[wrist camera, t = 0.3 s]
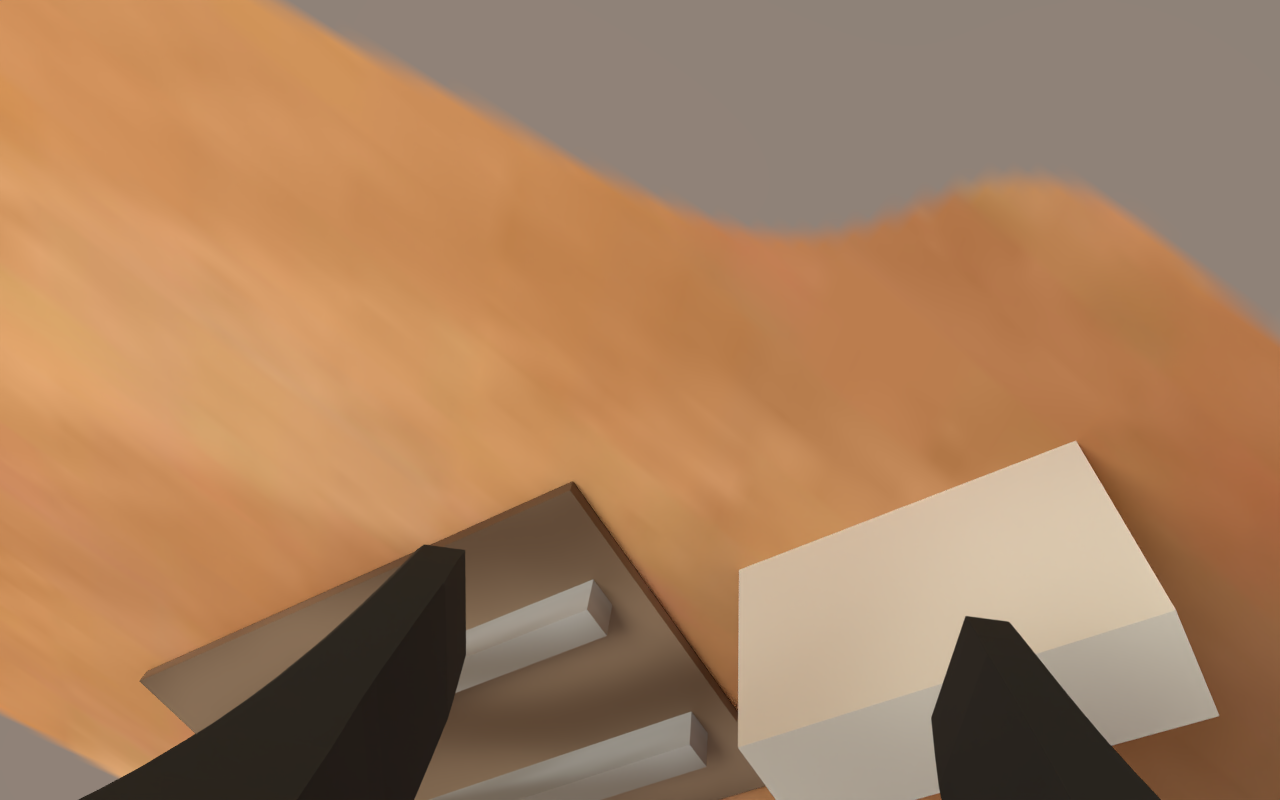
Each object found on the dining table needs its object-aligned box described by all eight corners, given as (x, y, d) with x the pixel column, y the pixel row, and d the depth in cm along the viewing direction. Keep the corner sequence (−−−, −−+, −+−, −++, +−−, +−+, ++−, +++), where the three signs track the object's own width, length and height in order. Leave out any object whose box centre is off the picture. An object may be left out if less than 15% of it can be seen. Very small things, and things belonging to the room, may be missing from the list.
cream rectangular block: (1113, 529, 23) (1219, 715, 18) (788, 642, 26) (799, 831, 21) (1074, 438, 22) (1175, 610, 17) (739, 567, 25) (737, 747, 20)
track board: (779, 770, 29) (781, 816, 27) (379, 891, 34) (363, 935, 32) (572, 481, 24) (562, 518, 23) (146, 671, 29) (116, 711, 28)
